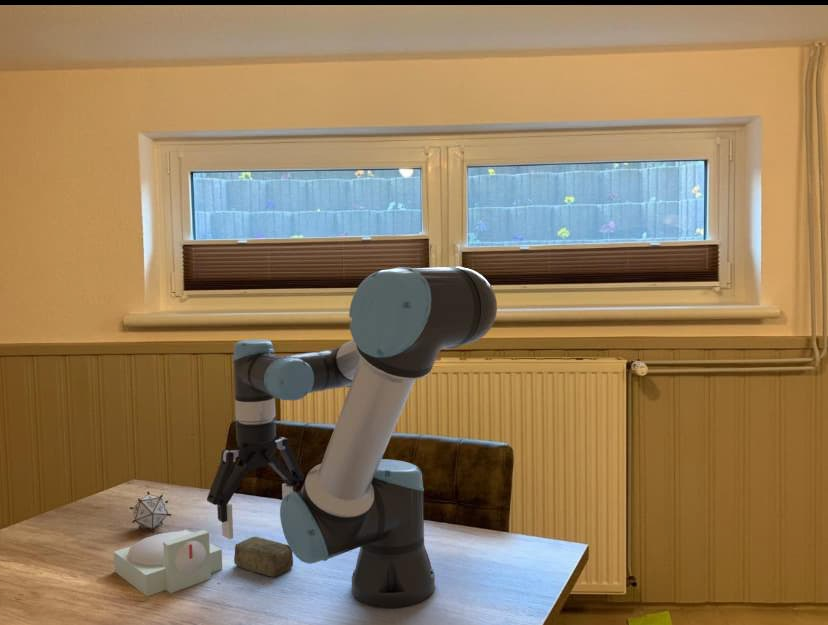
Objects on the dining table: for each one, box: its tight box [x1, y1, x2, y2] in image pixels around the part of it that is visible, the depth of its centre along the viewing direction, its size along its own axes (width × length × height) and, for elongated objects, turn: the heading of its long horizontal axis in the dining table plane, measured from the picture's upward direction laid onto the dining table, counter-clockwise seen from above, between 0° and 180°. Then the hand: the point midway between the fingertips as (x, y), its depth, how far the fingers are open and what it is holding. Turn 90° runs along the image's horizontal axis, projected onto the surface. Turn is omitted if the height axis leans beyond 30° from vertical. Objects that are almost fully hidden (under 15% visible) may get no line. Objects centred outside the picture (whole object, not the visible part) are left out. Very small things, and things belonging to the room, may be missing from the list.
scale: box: [113, 529, 223, 597], centre depth 132 cm, size 18×15×9 cm
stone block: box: [233, 536, 294, 577], centre depth 133 cm, size 6×12×5 cm, turn 59°
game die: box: [129, 490, 173, 533], centre depth 155 cm, size 9×8×10 cm
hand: (259, 526), depth 132 cm, fingers open, 13 cm apart
